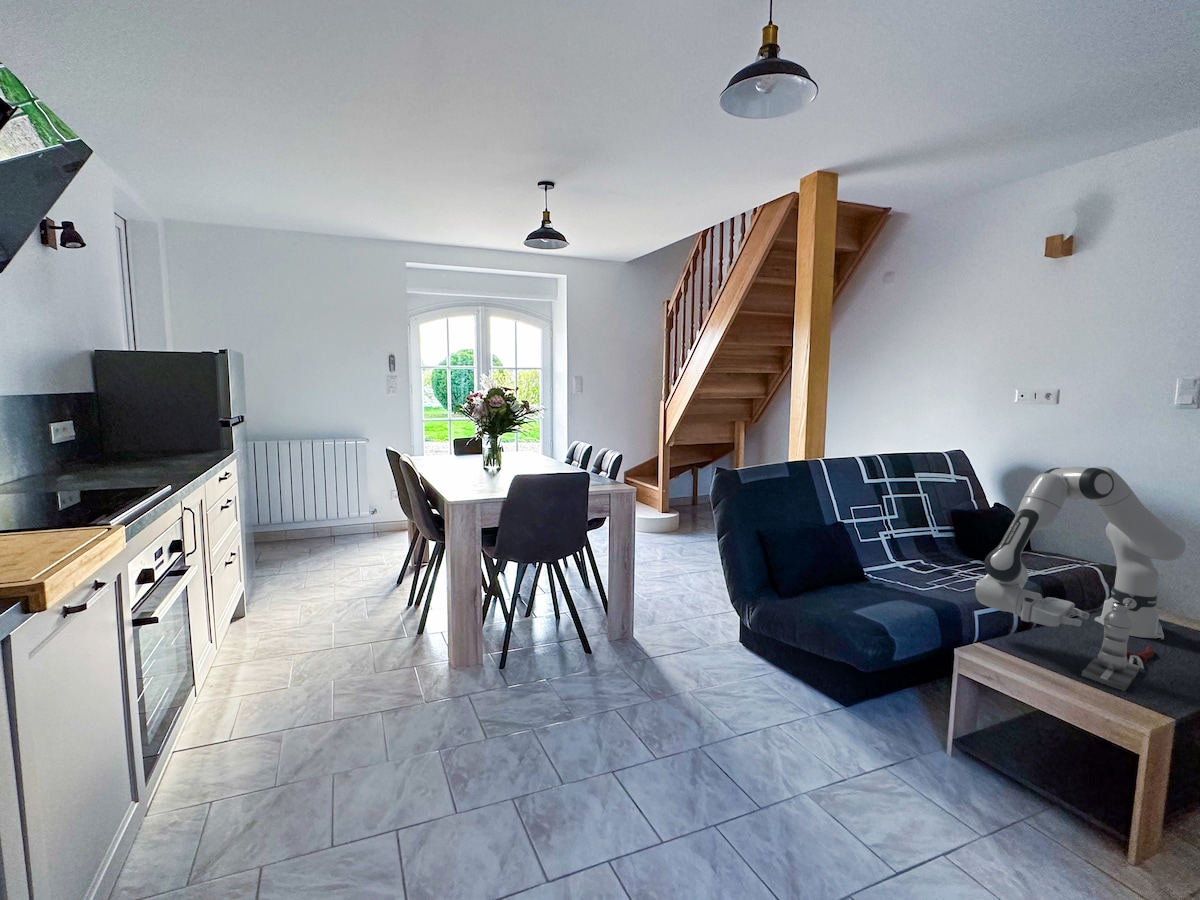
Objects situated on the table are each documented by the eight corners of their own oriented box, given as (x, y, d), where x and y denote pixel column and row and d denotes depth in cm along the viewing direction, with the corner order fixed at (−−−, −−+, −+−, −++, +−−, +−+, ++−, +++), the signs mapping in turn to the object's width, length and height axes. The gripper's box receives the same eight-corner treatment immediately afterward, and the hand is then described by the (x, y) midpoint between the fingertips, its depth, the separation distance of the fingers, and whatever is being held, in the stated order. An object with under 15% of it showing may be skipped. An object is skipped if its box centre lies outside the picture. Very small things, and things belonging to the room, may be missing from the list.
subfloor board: (1097, 657, 190) (1098, 652, 190) (1139, 670, 183) (1140, 665, 182) (1081, 676, 178) (1081, 671, 177) (1125, 691, 170) (1126, 685, 170)
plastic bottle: (1119, 675, 175) (1130, 610, 173) (1092, 665, 181) (1102, 601, 179) (1130, 671, 178) (1140, 606, 176) (1103, 661, 184) (1112, 598, 182)
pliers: (1112, 665, 187) (1113, 657, 186) (1106, 642, 203) (1107, 635, 203) (1162, 677, 180) (1163, 669, 180) (1151, 653, 196) (1152, 645, 196)
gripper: (1039, 607, 201) (1091, 621, 191) (1020, 621, 188) (1074, 638, 178) (1042, 589, 200) (1094, 602, 190) (1022, 602, 187) (1078, 617, 177)
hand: (1085, 620), depth 184 cm, fingers open, 8 cm apart
